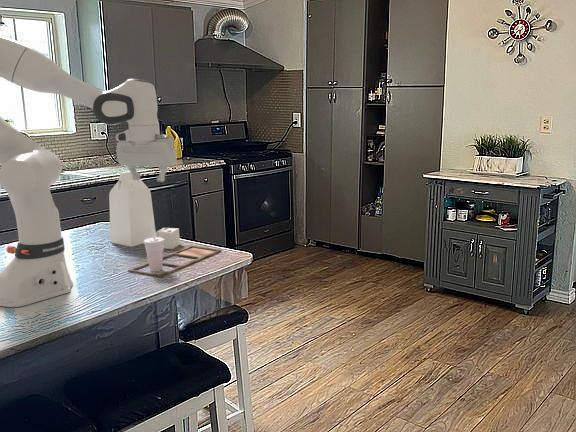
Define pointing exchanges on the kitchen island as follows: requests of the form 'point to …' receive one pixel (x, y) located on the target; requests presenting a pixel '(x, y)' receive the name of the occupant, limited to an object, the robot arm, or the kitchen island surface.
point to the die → (169, 237)
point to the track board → (188, 252)
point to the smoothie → (154, 251)
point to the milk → (130, 211)
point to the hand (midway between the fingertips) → (148, 180)
